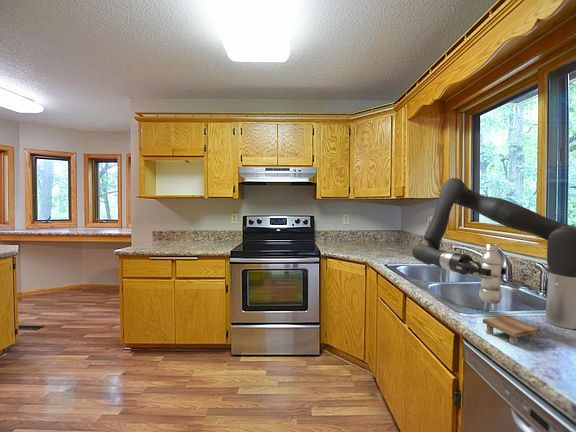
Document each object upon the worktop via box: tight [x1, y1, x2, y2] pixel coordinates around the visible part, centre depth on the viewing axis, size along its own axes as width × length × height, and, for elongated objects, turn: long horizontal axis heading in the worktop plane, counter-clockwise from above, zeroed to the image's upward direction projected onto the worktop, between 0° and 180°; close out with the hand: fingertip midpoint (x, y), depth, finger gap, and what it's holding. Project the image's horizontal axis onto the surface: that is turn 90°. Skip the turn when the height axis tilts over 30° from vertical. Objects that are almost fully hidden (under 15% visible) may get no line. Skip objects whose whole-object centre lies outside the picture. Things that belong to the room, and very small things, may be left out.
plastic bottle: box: [478, 243, 504, 305], centre depth 99 cm, size 6×7×20 cm
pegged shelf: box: [482, 315, 541, 347], centre depth 90 cm, size 10×10×4 cm
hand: (497, 272), depth 97 cm, fingers closed on plastic bottle, 6 cm apart
